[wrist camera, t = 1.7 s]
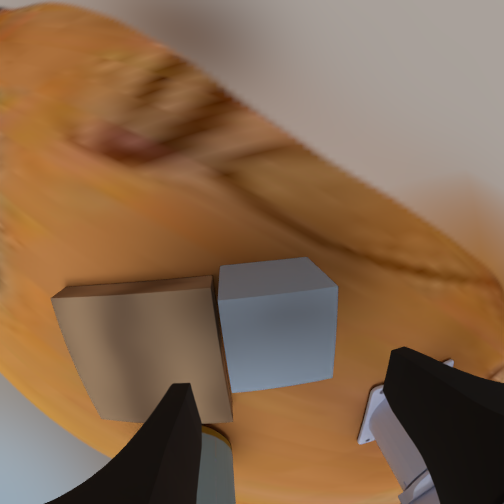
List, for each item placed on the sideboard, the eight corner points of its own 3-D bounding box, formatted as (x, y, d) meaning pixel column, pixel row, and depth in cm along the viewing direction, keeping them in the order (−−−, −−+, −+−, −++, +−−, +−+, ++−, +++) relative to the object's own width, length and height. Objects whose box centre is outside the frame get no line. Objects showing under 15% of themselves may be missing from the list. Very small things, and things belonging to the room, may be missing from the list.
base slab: (212, 275, 16) (210, 287, 14) (232, 402, 18) (233, 421, 16) (65, 287, 15) (50, 298, 13) (108, 402, 17) (101, 418, 16)
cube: (306, 256, 16) (338, 286, 11) (307, 331, 17) (332, 377, 12) (220, 265, 16) (217, 300, 11) (229, 340, 17) (231, 392, 12)
